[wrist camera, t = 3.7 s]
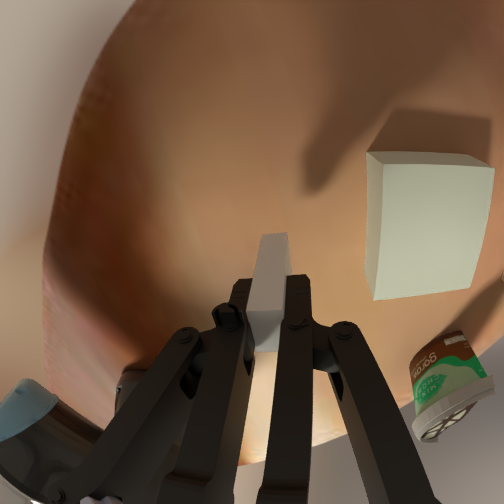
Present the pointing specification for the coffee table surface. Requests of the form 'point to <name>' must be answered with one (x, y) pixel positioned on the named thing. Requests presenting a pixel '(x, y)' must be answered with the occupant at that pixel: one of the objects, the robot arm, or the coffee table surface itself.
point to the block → (424, 221)
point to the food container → (446, 384)
